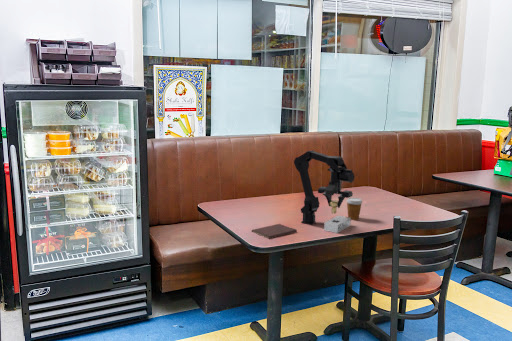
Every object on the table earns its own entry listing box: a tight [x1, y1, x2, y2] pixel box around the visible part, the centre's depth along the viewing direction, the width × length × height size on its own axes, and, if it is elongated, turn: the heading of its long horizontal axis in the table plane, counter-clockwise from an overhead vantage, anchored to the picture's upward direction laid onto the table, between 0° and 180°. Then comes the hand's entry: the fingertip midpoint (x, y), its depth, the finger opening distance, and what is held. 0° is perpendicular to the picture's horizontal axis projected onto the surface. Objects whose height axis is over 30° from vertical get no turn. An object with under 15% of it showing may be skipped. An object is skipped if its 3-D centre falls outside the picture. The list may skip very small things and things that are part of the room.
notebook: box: [251, 223, 298, 240], centre depth 263 cm, size 15×20×2 cm
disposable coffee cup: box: [345, 197, 363, 221], centre depth 290 cm, size 10×10×12 cm
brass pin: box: [329, 199, 339, 214], centre depth 266 cm, size 5×5×6 cm
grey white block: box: [323, 215, 352, 234], centre depth 272 cm, size 8×18×4 cm, turn 146°
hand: (334, 207), depth 266 cm, fingers closed on brass pin, 5 cm apart
